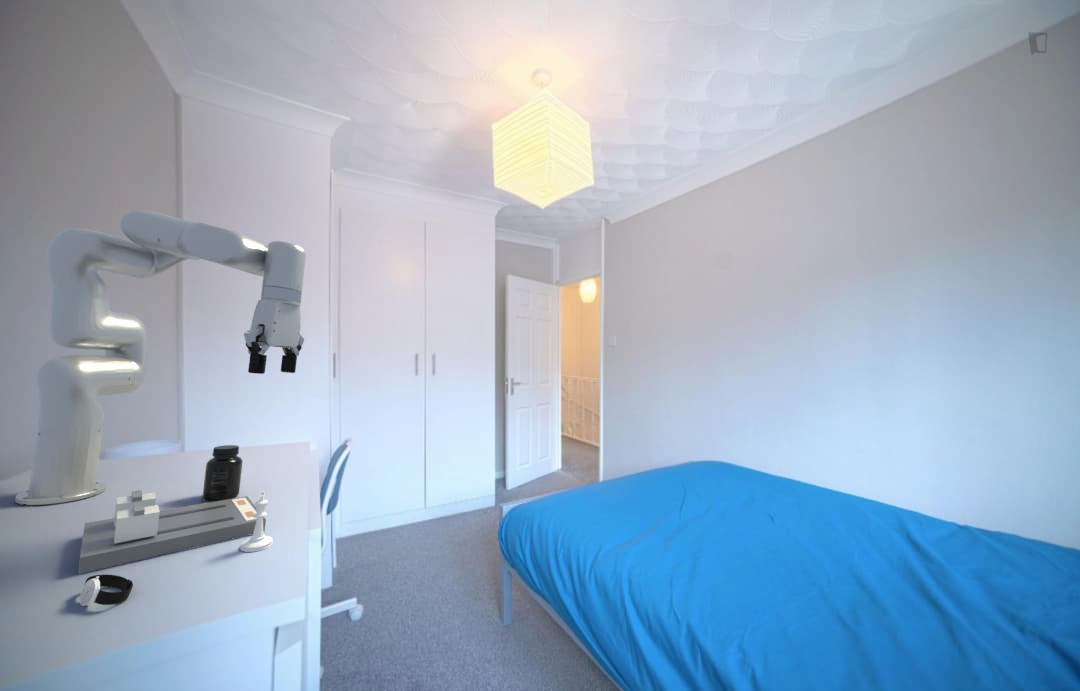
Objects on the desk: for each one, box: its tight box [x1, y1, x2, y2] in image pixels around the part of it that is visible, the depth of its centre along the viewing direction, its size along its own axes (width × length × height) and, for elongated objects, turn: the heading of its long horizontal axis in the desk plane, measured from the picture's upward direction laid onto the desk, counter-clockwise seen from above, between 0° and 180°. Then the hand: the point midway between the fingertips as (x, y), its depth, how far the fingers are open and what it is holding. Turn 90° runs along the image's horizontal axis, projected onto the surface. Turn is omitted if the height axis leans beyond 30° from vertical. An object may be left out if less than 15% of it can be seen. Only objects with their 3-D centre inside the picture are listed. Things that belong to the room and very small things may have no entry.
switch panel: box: [77, 495, 267, 575], centre depth 73 cm, size 16×24×3 cm, turn 138°
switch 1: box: [113, 489, 157, 527], centre depth 72 cm, size 4×5×5 cm
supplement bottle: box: [202, 444, 243, 503], centre depth 92 cm, size 7×7×12 cm
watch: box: [79, 574, 134, 607], centre depth 54 cm, size 8×5×4 cm, turn 66°
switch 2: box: [114, 503, 161, 544], centre depth 66 cm, size 4×5×5 cm
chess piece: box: [239, 490, 274, 553], centre depth 72 cm, size 5×5×10 cm
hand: (273, 372), depth 86 cm, fingers open, 9 cm apart
